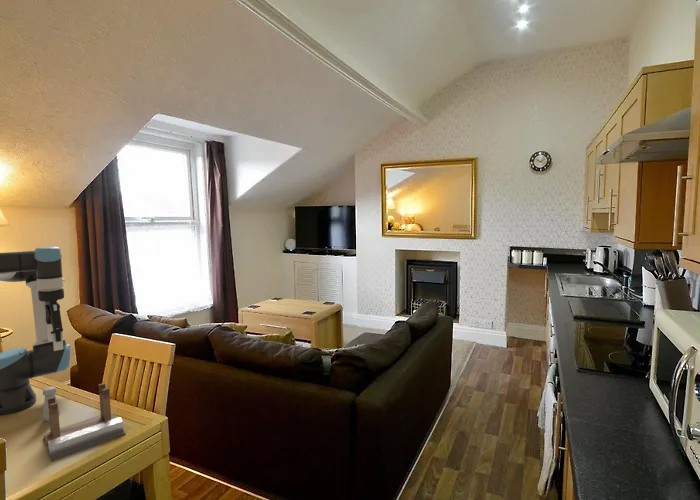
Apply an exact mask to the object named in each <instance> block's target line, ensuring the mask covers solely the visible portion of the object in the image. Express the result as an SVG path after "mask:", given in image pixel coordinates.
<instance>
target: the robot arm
mask: <svg viewBox="0 0 700 500" xmlns="http://www.w3.org/2000/svg"><path fill="white" fill-rule="evenodd" d="M65 281H66V279H65V278H63V264H62V253H61V248H60V247H58V246H40V247H35V249H34V250H29V251H28V250H26V251H25V250H24V251H14V252H13V251H10V252H9V251H8V252H0V282H7V283H20V282H25V286H26V287H29V288H30V293H31V303H32V312H33V321H34V331H35V338H36V339H35V340H36V341H35V343H34V344H33V345H32V349H31V350H27V348H25V347H19V348H18V347H17V348H13V349H9V350H6V351H2V352H0V416H2V415H8V414H14V413H18V412H20V411H23V410H25V409H28V408H29V407H31V406H33V405H34V404H35V403H36V402H37V395H36V392H35V391H34V389H33V388H32V386H31V384H30V379H34V378H39V377H43V376H47V375H51V374H57V373H60V372H64V371H66V370H68V368H69V367H70V363H71V344H70V343H68V342H67V343H66V339H65V338H64V337H63V332H64V328H63V323H62V322H63V321H62V314H61V305H60V303H59V302H58V301H59V300H63V299H64V298H65V290H64V288H63V287H64V282H65Z"/></svg>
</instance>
